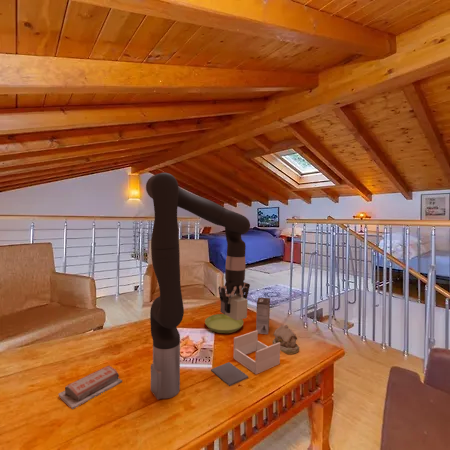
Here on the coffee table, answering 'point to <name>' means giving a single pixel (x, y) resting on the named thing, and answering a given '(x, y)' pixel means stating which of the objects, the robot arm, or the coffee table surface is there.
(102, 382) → the packaged product
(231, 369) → the mat
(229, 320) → the saucer
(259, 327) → the coffee box
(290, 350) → the ceramic model
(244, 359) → the carton
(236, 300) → the box
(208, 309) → the coffee table surface
